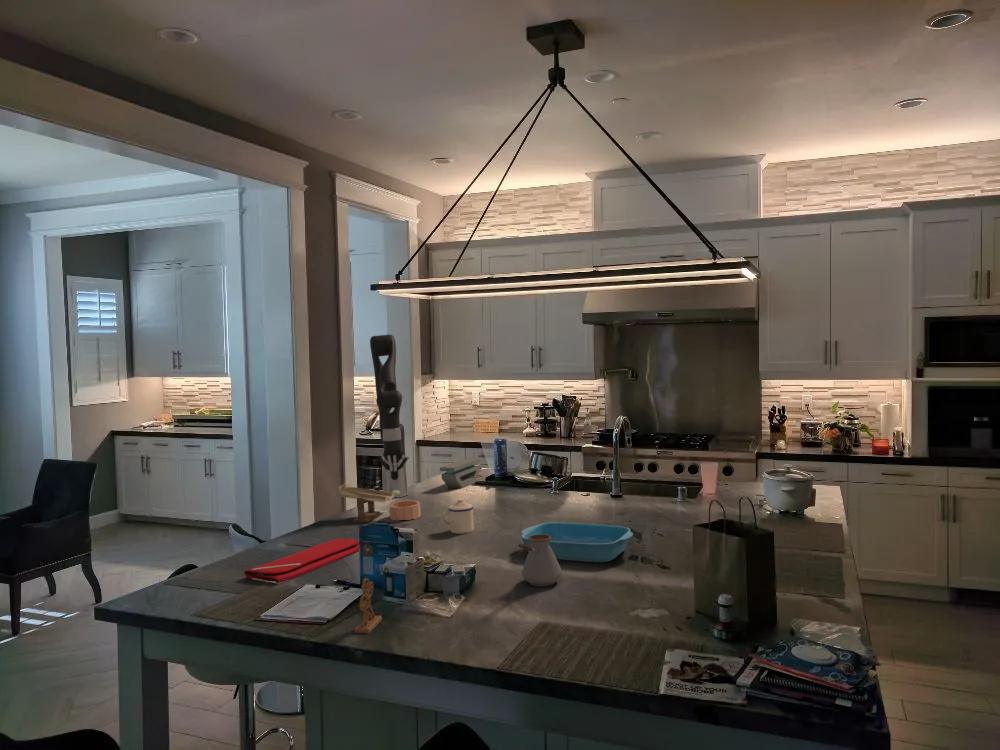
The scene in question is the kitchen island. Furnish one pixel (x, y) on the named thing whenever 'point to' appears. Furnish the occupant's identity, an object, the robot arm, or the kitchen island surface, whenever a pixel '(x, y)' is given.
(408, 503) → the terracotta bowl
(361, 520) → the ramp stand
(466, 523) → the teacup with lid
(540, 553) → the coffee pot
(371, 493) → the ramp
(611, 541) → the casserole dish
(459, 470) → the grey heat sealer
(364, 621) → the wooden sculpture
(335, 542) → the dish drying mat
